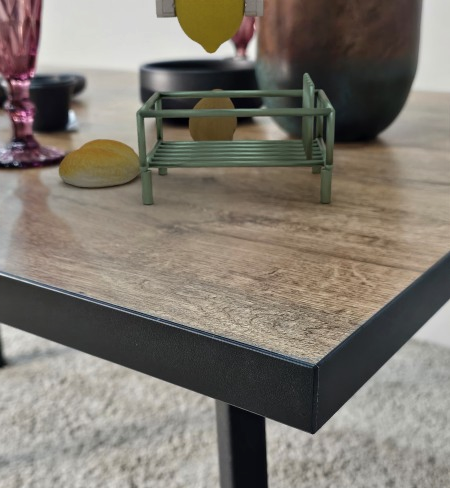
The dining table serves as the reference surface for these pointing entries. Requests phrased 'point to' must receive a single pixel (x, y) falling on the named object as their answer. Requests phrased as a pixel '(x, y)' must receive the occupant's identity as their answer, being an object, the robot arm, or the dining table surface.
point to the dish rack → (240, 151)
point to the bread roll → (100, 164)
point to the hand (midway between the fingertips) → (209, 17)
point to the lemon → (210, 20)
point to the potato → (213, 121)
